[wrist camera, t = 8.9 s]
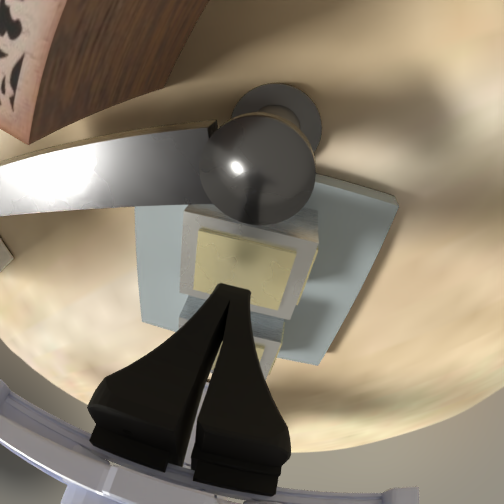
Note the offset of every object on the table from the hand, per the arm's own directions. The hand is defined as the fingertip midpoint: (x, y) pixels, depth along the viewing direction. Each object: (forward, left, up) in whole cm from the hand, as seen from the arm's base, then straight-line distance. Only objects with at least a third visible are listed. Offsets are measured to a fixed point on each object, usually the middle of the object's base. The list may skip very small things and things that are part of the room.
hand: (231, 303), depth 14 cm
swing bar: (+4, +7, -2) cm, 8 cm away
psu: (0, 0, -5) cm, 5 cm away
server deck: (-1, 0, -6) cm, 6 cm away
